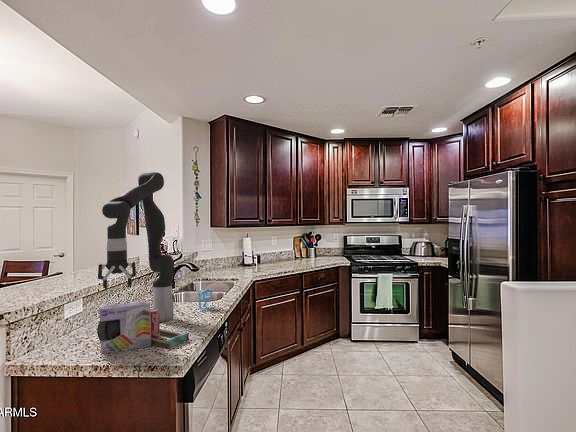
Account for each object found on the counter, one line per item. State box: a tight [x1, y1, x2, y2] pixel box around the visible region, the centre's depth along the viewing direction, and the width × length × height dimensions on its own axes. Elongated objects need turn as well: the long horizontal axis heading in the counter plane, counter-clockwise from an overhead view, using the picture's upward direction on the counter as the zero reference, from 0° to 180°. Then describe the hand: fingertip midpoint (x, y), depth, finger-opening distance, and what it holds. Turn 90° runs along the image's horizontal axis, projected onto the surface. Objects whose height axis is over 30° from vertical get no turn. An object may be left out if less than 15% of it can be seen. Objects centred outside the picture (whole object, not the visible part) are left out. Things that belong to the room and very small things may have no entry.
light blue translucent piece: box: [196, 288, 215, 312], centre depth 198 cm, size 8×8×12 cm
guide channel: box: [151, 329, 190, 350], centre depth 147 cm, size 11×21×3 cm, turn 61°
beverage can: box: [150, 308, 161, 339], centre depth 149 cm, size 6×6×12 cm
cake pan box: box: [96, 301, 152, 354], centre depth 138 cm, size 19×5×18 cm, turn 109°
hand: (117, 287), depth 145 cm, fingers open, 8 cm apart
